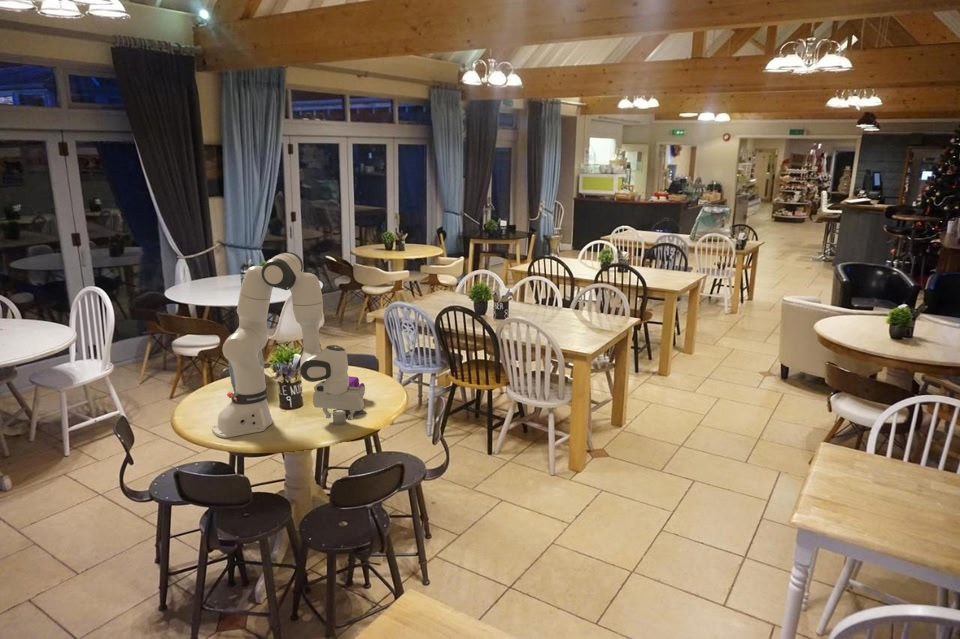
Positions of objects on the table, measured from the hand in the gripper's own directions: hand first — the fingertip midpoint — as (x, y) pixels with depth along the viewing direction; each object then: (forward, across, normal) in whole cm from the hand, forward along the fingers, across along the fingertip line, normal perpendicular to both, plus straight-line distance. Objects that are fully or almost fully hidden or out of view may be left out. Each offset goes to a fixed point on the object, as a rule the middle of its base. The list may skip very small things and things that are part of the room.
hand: (339, 418), depth 259 cm
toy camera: (+2, +6, -24) cm, 25 cm away
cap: (+2, 0, 0) cm, 2 cm away
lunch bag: (+2, +62, -36) cm, 72 cm away
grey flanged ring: (+2, 0, -11) cm, 11 cm away
